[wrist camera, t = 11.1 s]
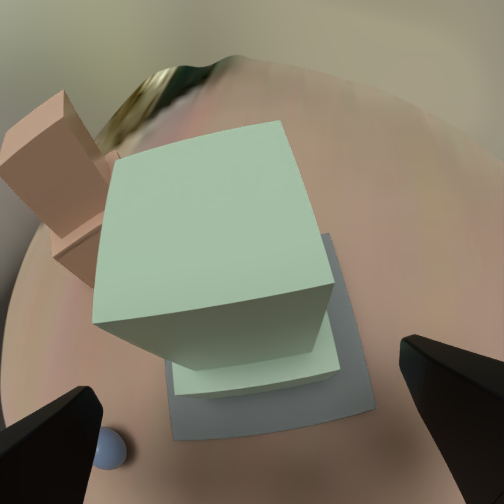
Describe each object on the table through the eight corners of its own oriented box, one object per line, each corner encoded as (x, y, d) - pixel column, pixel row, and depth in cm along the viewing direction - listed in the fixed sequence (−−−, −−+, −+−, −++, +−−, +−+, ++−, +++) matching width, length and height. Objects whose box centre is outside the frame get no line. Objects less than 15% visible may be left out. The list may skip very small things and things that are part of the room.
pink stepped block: (164, 243, 22) (80, 112, 11) (92, 288, 21) (-19, 191, 10) (140, 189, 26) (76, 77, 15) (78, 228, 25) (-2, 134, 14)
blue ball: (116, 438, 13) (141, 465, 14) (103, 410, 15) (126, 438, 16) (76, 459, 11) (105, 484, 12) (68, 429, 14) (93, 456, 15)
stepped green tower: (326, 379, 16) (399, 319, 5) (207, 399, 16) (58, 369, 5) (302, 272, 19) (304, 98, 8) (196, 292, 19) (95, 149, 9)
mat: (373, 408, 15) (376, 408, 14) (176, 440, 15) (173, 440, 15) (328, 236, 21) (329, 232, 20) (163, 269, 21) (161, 265, 21)
